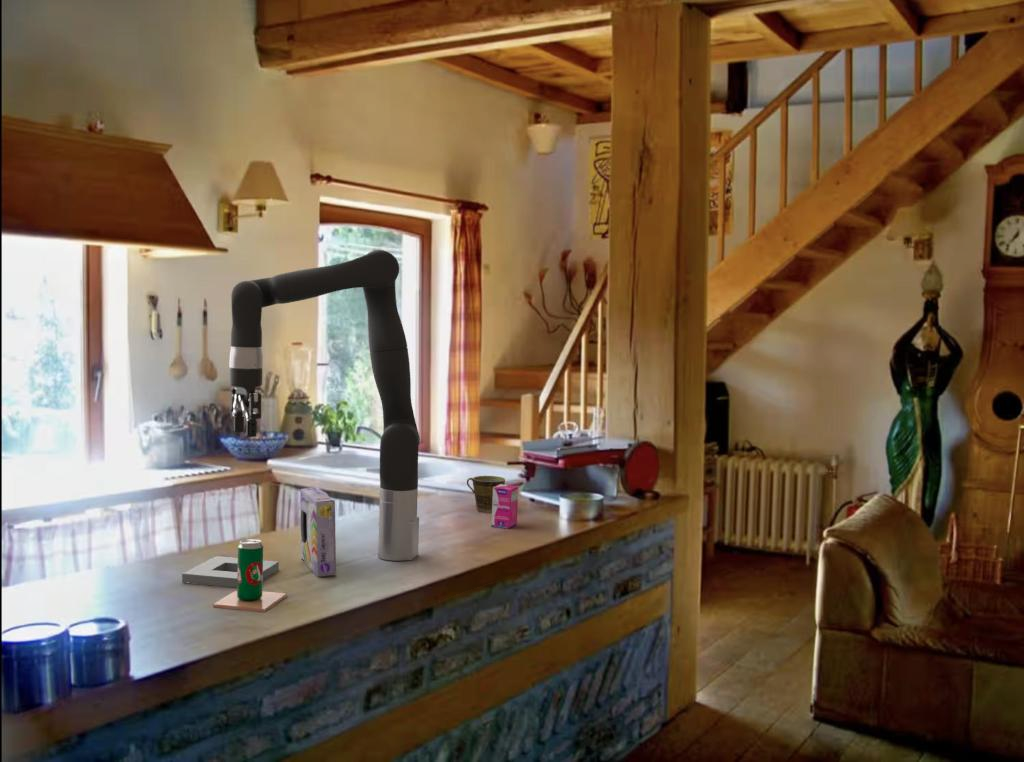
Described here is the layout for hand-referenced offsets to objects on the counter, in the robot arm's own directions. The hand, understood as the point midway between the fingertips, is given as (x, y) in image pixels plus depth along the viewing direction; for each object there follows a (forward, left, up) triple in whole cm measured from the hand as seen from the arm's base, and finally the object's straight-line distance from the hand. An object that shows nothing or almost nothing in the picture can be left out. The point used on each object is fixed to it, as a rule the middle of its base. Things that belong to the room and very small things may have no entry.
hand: (244, 434), depth 234 cm
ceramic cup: (-43, -75, -30) cm, 92 cm away
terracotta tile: (-16, +30, -30) cm, 45 cm away
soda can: (-16, +30, -30) cm, 45 cm away
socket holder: (-4, +14, -30) cm, 33 cm away
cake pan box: (-19, +1, -30) cm, 36 cm away
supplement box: (-53, -56, -30) cm, 83 cm away
